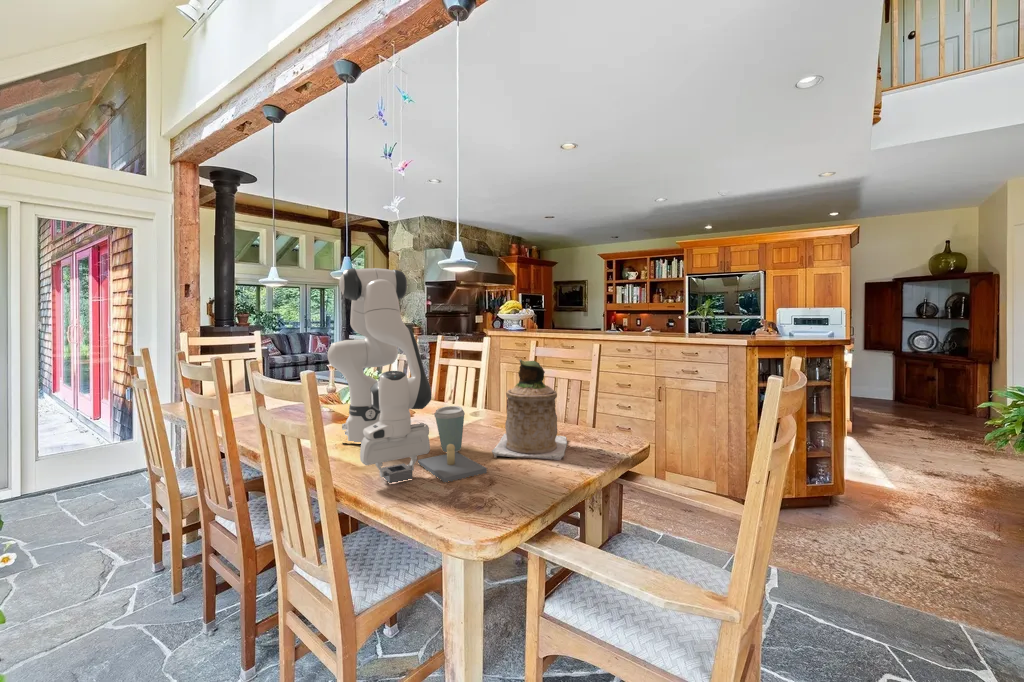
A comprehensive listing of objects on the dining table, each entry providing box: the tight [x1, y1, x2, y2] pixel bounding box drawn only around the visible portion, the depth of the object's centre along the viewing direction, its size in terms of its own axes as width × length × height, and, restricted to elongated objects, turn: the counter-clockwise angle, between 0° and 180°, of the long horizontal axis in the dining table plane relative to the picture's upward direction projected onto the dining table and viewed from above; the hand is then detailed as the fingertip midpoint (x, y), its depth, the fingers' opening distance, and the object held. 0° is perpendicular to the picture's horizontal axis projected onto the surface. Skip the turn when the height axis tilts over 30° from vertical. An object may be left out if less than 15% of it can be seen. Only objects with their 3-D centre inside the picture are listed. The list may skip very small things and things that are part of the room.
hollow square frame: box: [381, 463, 414, 483], centre depth 137 cm, size 7×7×3 cm
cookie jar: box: [491, 359, 568, 461], centre depth 164 cm, size 25×25×32 cm
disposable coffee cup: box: [434, 405, 465, 453], centre depth 164 cm, size 11×11×15 cm
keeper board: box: [417, 444, 488, 483], centre depth 146 cm, size 20×14×8 cm
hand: (397, 473), depth 137 cm, fingers closed on hollow square frame, 7 cm apart
